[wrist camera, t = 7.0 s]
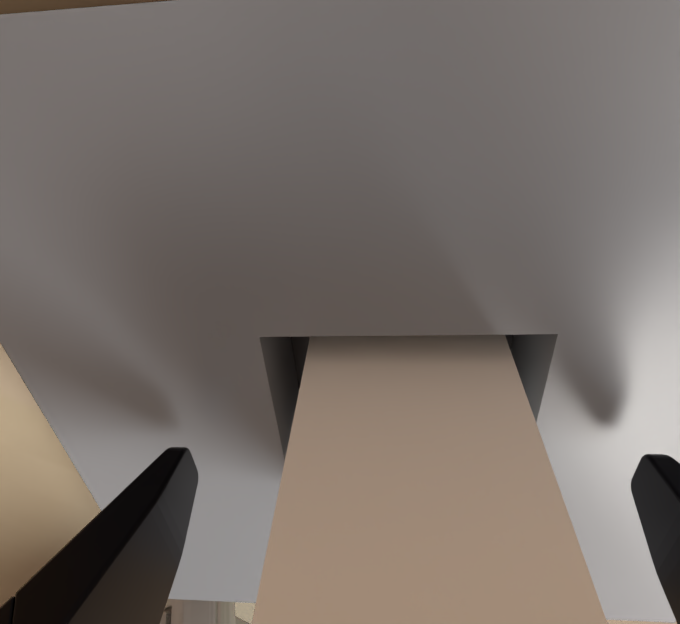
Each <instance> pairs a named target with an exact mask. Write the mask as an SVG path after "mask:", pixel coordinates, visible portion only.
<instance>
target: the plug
mask: <svg viewBox="0 0 680 624" xmlns="http://www.w3.org/2000/svg"><path fill="white" fill-rule="evenodd" d="M252 624H608V623H607V621H606V618H605V615H604V612H603V609H602V607H601V604H600V601H599V598H598V595H597V593H596V590H595V587H594V584H593V581H592V578H591V576H590V573H589V570H588V567H587V564H586V562H585V559H584V556H583V553H582V550H581V548H580V545H579V542H578V539H577V536H576V533H575V531H574V528H573V525H572V522H571V519H570V517H569V514H568V511H567V508H566V505H565V503H564V500H563V497H562V494H561V491H560V488H559V486H558V483H557V480H556V477H555V474H554V472H553V469H552V466H551V463H550V460H549V458H548V455H547V452H546V449H545V446H544V443H543V441H542V438H541V435H540V432H539V429H538V427H537V424H536V421H535V418H534V415H533V413H532V410H531V407H530V404H529V401H528V398H527V396H526V393H525V390H524V387H523V384H522V382H521V379H520V376H519V373H518V370H517V367H516V365H515V362H514V359H513V356H512V353H511V351H510V348H509V345H508V342H507V339H506V337H505V335H416V336H310V340H309V345H308V349H307V354H306V359H305V364H304V369H303V374H302V379H301V384H300V389H299V394H298V398H297V403H296V408H295V413H294V418H293V423H292V428H291V433H290V438H289V443H288V448H287V452H286V457H285V462H284V467H283V472H282V477H281V482H280V487H279V492H278V497H277V502H276V506H275V511H274V516H273V521H272V526H271V531H270V536H269V541H268V546H267V551H266V555H265V560H264V565H263V570H262V575H261V580H260V585H259V590H258V595H257V600H256V605H255V609H254V614H253V619H252Z"/></svg>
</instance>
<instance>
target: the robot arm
mask: <svg viewBox="0 0 680 624" xmlns="http://www.w3.org/2000/svg"><path fill="white" fill-rule="evenodd" d="M197 485H198V470H197V467H196V465H195V462H194V459H193V457H192V454H191V452H190V450H189V449H188V448H186V447H170V448H168V449H166V450H165V451H164V452H163V453H162V454H161V455H160V456H159V457H158V458H156V459H155V460H154V461H153V462H152V463H151V464H150V465H149V466H148V467H147V468H146V469H145V470H144V471H143V472H142V473H141V474H140V475H139V476H138V477H137V478H136V479H134V480H133V481H132V482H131V483H130V484H129V485H128V486H127V487H126V488H125V489H124V490H123V491H122V492H121V493H120V494H119V495H118V496H117V497H116V498H115V499H114V500H113V501H111V502H110V503H109V504H108V505H107V506H106V507H105V508H104V509H103V510H102V511H101V512H100V513H99V514H98V515H97V516H96V517H95V518H94V519H93V520H92V521H91V522H89V523H88V524H87V525H86V526H85V527H84V528H83V529H82V530H81V531H80V532H79V533H78V534H77V535H76V536H75V537H74V538H73V539H72V540H71V541H70V542H69V543H68V544H66V545H65V546H64V547H63V548H62V549H61V550H60V551H59V552H58V553H57V554H56V555H55V556H54V557H53V558H52V559H51V560H50V561H49V562H48V563H47V564H46V565H44V566H43V567H42V568H41V569H40V570H39V571H38V572H37V573H36V574H35V575H34V576H33V577H32V578H31V579H30V580H29V581H28V582H27V583H26V584H25V585H24V586H22V587H21V588H20V589H19V590H18V591H17V592H16V594H15V596H13V597H11V598H10V599H9V600H8V601H7V602H6V603H4V604H3V605H2V606H1V607H0V624H160V622H161V619H162V616H163V613H164V609H165V606H166V603H167V600H168V597H169V594H170V591H171V588H172V585H173V582H174V579H175V576H176V573H177V570H178V567H179V564H180V560H181V557H182V553H183V549H184V545H185V541H186V536H187V531H188V527H189V522H190V518H191V513H192V508H193V504H194V499H195V494H196V490H197ZM631 492H632V495H633V499H634V502H635V505H636V509H637V512H638V515H639V519H640V522H641V525H642V528H643V532H644V535H645V538H646V542H647V545H648V548H649V552H650V555H651V558H652V561H653V564H654V567H655V570H656V573H657V576H658V578H659V581H660V583H661V586H662V588H663V591H664V593H665V595H666V598H667V600H668V602H669V605H670V607H671V610H672V612H673V614H674V617H675V619H676V621H677V624H680V463H679V462H677V461H676V460H675V459H674V458H672V457H670V456H668V455H665V454H645V455H644V456H642V458H641V459H640V462H639V464H638V466H637V468H636V470H635V473H634V475H633V477H632V480H631Z"/></svg>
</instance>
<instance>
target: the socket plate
mask: <svg viewBox="0 0 680 624" xmlns="http://www.w3.org/2000/svg"><path fill="white" fill-rule="evenodd" d="M416 335H505V337H506V339H507V342H508V345H509V348H510V351H511V353H512V356H513V359H514V362H515V365H516V367H517V370H518V373H519V376H520V379H521V382H522V384H523V387H524V390H525V393H526V396H527V398H528V401H529V404H530V407H531V410H532V413H533V415H534V418H535V421H536V424H537V427H538V429H539V432H540V435H541V438H542V441H543V443H544V446H545V449H546V452H547V455H548V458H549V460H550V463H551V466H552V469H553V472H554V474H555V477H556V480H557V483H558V486H559V488H560V491H561V494H562V497H563V500H564V503H565V505H566V508H567V511H568V514H569V517H570V519H571V522H572V525H573V528H574V531H575V533H576V536H577V539H578V542H579V545H580V548H581V550H582V553H583V556H584V559H585V562H586V564H587V567H588V570H589V573H590V576H591V578H592V581H593V584H594V587H595V590H596V593H597V595H598V598H599V601H600V604H601V607H602V609H603V612H604V615H605V618H606V619H607V620H628V621H649V622H670V623H675V622H676V619H675V617H674V614H673V612H672V610H671V607H670V605H669V602H668V600H667V598H666V595H665V593H664V591H663V588H662V586H661V583H660V581H659V578H658V576H657V573H656V570H655V567H654V564H653V561H652V558H651V555H650V552H649V548H648V545H647V542H646V538H645V535H644V532H643V528H642V525H641V522H640V519H639V515H638V512H637V509H636V505H635V502H634V499H633V495H632V492H631V480H632V477H633V475H634V473H635V470H636V468H637V466H638V464H639V462H640V459H641V458H642V456H644V455H645V454H665V455H668V456H670V457H672V458H674V459H675V460H676V461H677V462H679V463H680V0H172V1H159V2H147V3H135V4H123V5H110V6H98V7H86V8H74V9H61V10H49V11H37V12H25V13H12V14H0V343H1V344H2V346H3V348H4V349H5V351H6V353H7V354H8V356H9V358H10V359H11V361H12V363H13V364H14V366H15V368H16V369H17V371H18V373H19V374H20V376H21V378H22V379H23V381H24V383H25V384H26V386H27V388H28V389H29V391H30V393H31V394H32V396H33V398H34V399H35V401H36V403H37V404H38V406H39V408H40V409H41V411H42V413H43V414H44V416H45V418H46V419H47V421H48V423H49V424H50V426H51V428H52V429H53V431H54V433H55V434H56V436H57V438H58V439H59V441H60V443H61V444H62V446H63V448H64V449H65V451H66V453H67V454H68V456H69V458H70V459H71V461H72V463H73V464H74V466H75V468H76V469H77V471H78V473H79V474H80V476H81V478H82V479H83V481H84V483H85V484H86V486H87V488H88V489H89V491H90V493H91V494H92V496H93V498H94V499H95V501H96V503H97V504H98V506H99V508H100V509H101V511H102V510H103V509H104V508H105V507H106V506H107V505H108V504H109V503H110V502H111V501H113V500H114V499H115V498H116V497H117V496H118V495H119V494H120V493H121V492H122V491H123V490H124V489H125V488H126V487H127V486H128V485H129V484H130V483H131V482H132V481H133V480H134V479H136V478H137V477H138V476H139V475H140V474H141V473H142V472H143V471H144V470H145V469H146V468H147V467H148V466H149V465H150V464H151V463H152V462H153V461H154V460H155V459H156V458H158V457H159V456H160V455H161V454H162V453H163V452H164V451H165V450H166V449H168V448H170V447H186V448H188V449H189V450H190V452H191V454H192V457H193V459H194V462H195V465H196V467H197V470H198V485H197V490H196V494H195V499H194V504H193V508H192V513H191V518H190V522H189V527H188V531H187V536H186V541H185V545H184V549H183V553H182V557H181V560H180V564H179V567H178V570H177V573H176V576H175V579H174V582H173V585H172V588H171V591H170V594H169V597H168V599H182V600H203V601H224V602H245V603H256V600H257V595H258V590H259V585H260V580H261V575H262V570H263V565H264V560H265V555H266V551H267V546H268V541H269V536H270V531H271V526H272V521H273V516H274V511H275V506H276V502H277V497H278V492H279V487H280V482H281V477H282V472H283V467H284V462H285V457H286V452H287V448H288V443H289V438H290V433H291V428H292V423H293V418H294V413H295V408H296V403H297V398H298V394H299V389H300V384H301V379H302V374H303V369H304V364H305V359H306V354H307V349H308V345H309V340H310V336H416Z"/></svg>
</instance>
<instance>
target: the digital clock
mask: <svg viewBox="0 0 680 624" xmlns="http://www.w3.org/2000/svg"><path fill="white" fill-rule="evenodd" d="M160 624H249V623H247V622H245V621H243V620H241V619H239V618H238V617H236V616H235V602H224V601H203V600H182V599H168V600H167V603H166V606H165V609H164V613H163V616H162V619H161V622H160Z"/></svg>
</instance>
